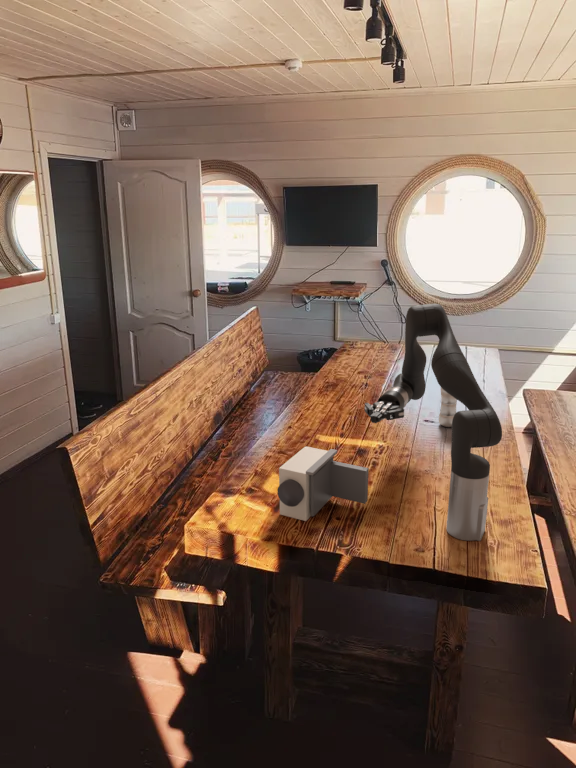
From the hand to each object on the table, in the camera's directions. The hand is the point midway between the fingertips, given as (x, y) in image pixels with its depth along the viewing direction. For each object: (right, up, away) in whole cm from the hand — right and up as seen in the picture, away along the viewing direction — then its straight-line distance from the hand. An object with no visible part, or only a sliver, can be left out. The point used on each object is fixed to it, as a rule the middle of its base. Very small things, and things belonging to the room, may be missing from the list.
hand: (373, 419), depth 175 cm
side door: (-11, -24, -8) cm, 28 cm away
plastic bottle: (+35, -5, +53) cm, 63 cm away
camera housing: (-19, -24, -4) cm, 31 cm away
